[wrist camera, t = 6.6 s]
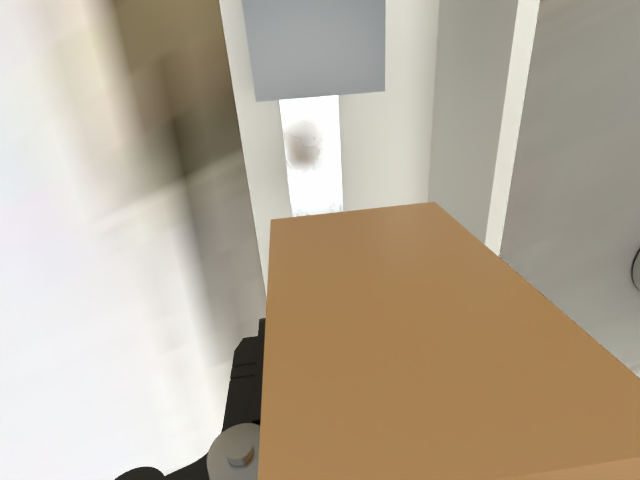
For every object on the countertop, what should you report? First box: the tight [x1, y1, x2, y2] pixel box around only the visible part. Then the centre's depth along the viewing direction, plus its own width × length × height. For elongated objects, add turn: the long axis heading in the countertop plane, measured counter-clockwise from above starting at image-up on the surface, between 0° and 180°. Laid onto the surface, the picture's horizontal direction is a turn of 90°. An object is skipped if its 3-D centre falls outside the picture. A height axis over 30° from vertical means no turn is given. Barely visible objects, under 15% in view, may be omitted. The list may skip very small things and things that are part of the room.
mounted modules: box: [241, 0, 386, 102], centre depth 23 cm, size 6×25×8 cm, turn 4°
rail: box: [279, 95, 343, 217], centre depth 27 cm, size 4×27×1 cm, turn 4°
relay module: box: [258, 202, 640, 480], centre depth 9 cm, size 5×7×8 cm
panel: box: [219, 0, 540, 298], centre depth 24 cm, size 15×28×10 cm, turn 4°
